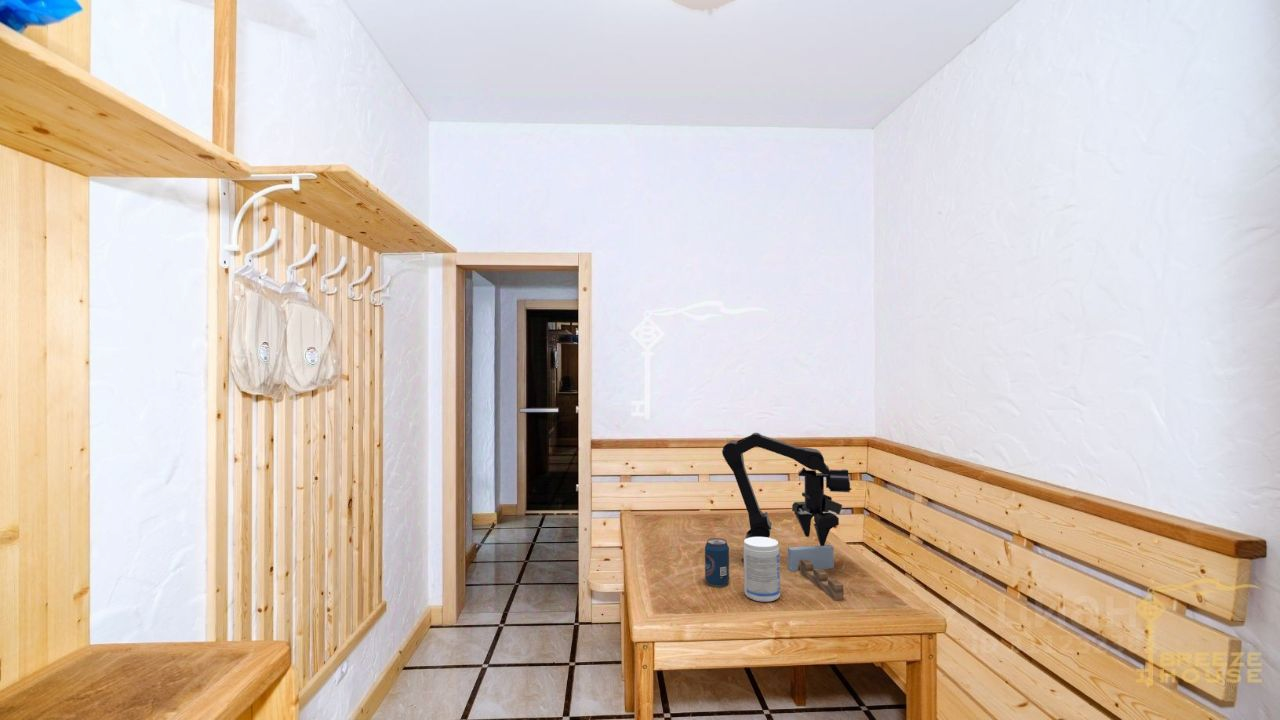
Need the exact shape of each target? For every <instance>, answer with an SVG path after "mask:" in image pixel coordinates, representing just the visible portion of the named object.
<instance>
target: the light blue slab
mask: <svg viewBox="0 0 1280 720" xmlns="http://www.w3.org/2000/svg"><path fill="white" fill-rule="evenodd" d="M834 551H835V550H834V546H832V545H831V544H825V545H824V546H820V544H819V545H807V546H794V547H787V569H788V570H789V571H790V573H791V572H792V573H793V572H799V564H800V560H806V559H807V560H808V561H810V562H811V563H813V567H814V569H821V570H829V569H830V568H831V569H834V568H835V560H834V559H835V557H834V556H835V553H834Z"/></svg>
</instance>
